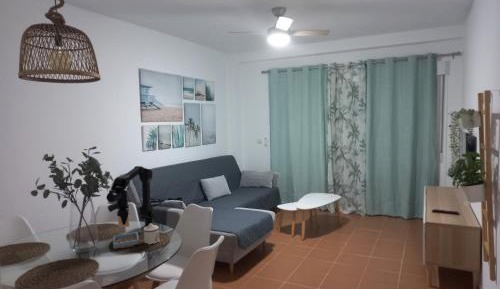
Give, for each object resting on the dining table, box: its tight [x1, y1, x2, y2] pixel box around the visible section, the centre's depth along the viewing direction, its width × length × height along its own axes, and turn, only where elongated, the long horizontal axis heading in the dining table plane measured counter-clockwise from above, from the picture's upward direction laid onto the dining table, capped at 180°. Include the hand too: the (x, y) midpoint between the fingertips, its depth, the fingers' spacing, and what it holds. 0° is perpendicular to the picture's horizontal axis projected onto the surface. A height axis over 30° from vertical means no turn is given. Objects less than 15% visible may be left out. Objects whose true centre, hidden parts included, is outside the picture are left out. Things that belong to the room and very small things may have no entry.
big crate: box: [112, 231, 140, 248], centre depth 202 cm, size 14×14×4 cm
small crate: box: [117, 214, 130, 229], centre depth 204 cm, size 6×6×6 cm
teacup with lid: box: [142, 223, 160, 244], centre depth 203 cm, size 12×9×12 cm
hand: (124, 223), depth 204 cm, fingers closed on small crate, 6 cm apart
